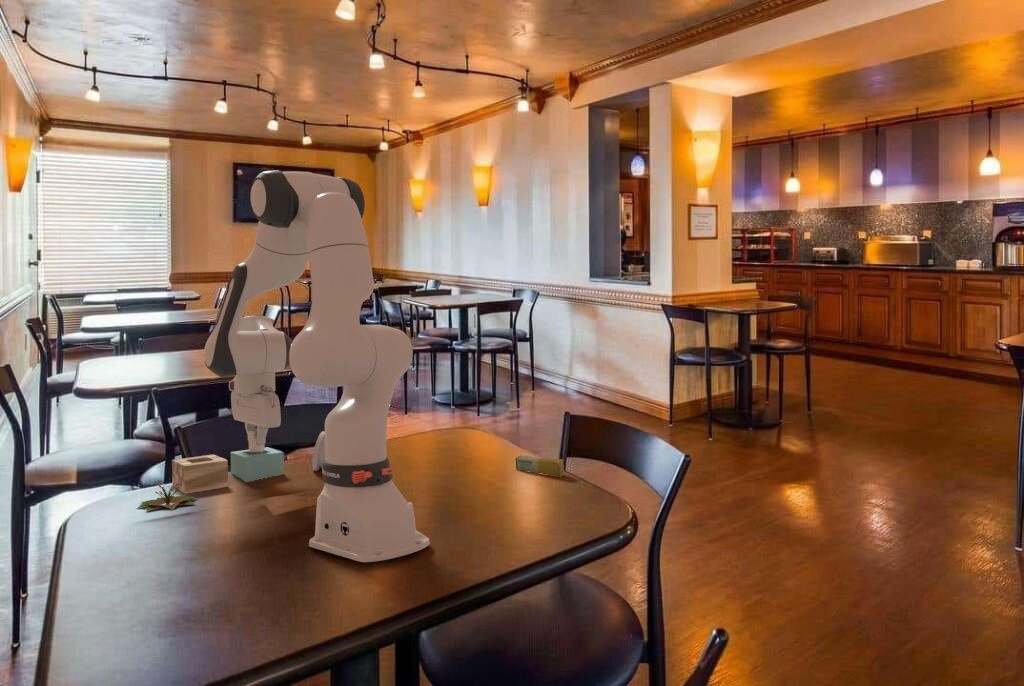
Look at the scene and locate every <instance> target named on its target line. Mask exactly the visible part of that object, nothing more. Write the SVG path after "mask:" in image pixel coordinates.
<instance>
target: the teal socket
mask: <svg viewBox="0 0 1024 686" xmlns="http://www.w3.org/2000/svg"><path fill="white" fill-rule="evenodd" d="M284 459H285V458H284V452H283V451H281V450H278V449H275V448H272V447H267V446H266V447H265V453H261V454H254V455H250V454H249V449H245V450H244V449H242V450H236V451H230V474H232V475H233V476H235V477H236V478H238V479H239V480H240V481H241V480H242V481H243V482H245V483H246V482H248V483H250V482H249V481H252V482H255V481H254V480H257V481H259V480H258V479H261V480H264V479H263V478H265V479H268V477H270V478H273V477H272V476H274V477H278V476H283V475H284V474H285V468H284V467H285V465H284Z"/></svg>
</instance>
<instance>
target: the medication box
mask: <svg viewBox="0 0 1024 686" xmlns="http://www.w3.org/2000/svg"><path fill="white" fill-rule="evenodd" d="M514 460H515V469H518V470H517V471H520V470H524V471H523V472H525V471H530V472H535V473H534V474H536V473H543V474H548V475H553V476H557V477H561V476H562V475H564V476H565V465H564V459H561V458H560V459H558V458H549V457H539V456H529V455H527V456H525V455H519V456H517V457H516V458H515V459H514ZM530 472H529V473H530ZM557 477H556V478H557ZM561 478H562V477H561Z"/></svg>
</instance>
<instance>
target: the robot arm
mask: <svg viewBox="0 0 1024 686" xmlns="http://www.w3.org/2000/svg"><path fill="white" fill-rule="evenodd" d="M251 184H252V185H251V188H250V193H249V194H250V197H249V198H250V207H251V210H252V213H253V215H254V216H255V218H256V219H257V220H258V224H257V228H256V229H257V230H256V234H255V240H254V245H253V248H252V249H251V251H250V253H249V254H248V256H247V257H246V258H245V260H244V261H243V262H241V263H239V264H237V265H236V266H234V269H233V270H232V272H231V275H230V277H229V279H228V283H227V284H226V287H225V291H224V292H223V296H222V300H221V302H220V306H219V309H218V312H217V314H216V317H215V321H214V324H213V326H212V329H211V331H210V333H209V335H208V337H207V339H206V342H205V345H204V349H203V359H204V364H205V367H206V368H207V369H208V370H209V371H210V372H211V373H213V374H215V375H216V376H218V377H219V378H227V377H234V378H233V379H231V380H230V381H229V382H228V390H229V391H231V393H230V404H231V413H232V416H233V417H232V418H233V419H234V421H238V422H242V423H244V427H245V428H244V429H245V431H246V433H247V441H248V442H249V433H248V431H250V430H258V433H257V437H256V443H257V444H259V445H262V444H266V441H267V440H266V438H267V434H268V432H269V429H270V428H271V429H272V428H279V427H280V425H281V423H282V417H281V405H280V399H279V396H278V395H277V394H276V392H275V391H276V373H278V372H281V371H284V370H286V369H287V368H288V367H289V366H290V368H291V371H292V373H293V375H294V376H295V377H296V379H297V380H298V381H299V382H300V383H302V384H304V385H308V386H313V387H320V388H327V389H328V388H335V387H337V388H338V387H344V389H343V392H342V395H341V398H340V399H339V401H338V403H337V405H335V407H333V408H332V410H331V411H329V413H328V414H327V416H326V418H325V419H324V420H325V421H324V431H325V461H324V462H323V468H321V471H322V472H321V474H322V481H323V482H324V485H323V488H322V491H321V492H320V494H319V495H318V497H317V498H316V499H317V500H316V511H315V513H316V514H315V530H314V536H313V537H311V538H310V539H309V540H308V547H310V548H313V549H316V550H318V551H319V550H320V551H324V552H326V553H329V554H333V555H335V556H341V557H343V558H346V559H349V560H353V561H356V562H361V563H371V562H372V563H373V562H379V561H387V560H391V559H395V558H398V557H403V556H407V555H411V554H412V553H415V552H418V551H421V550H423V549H425V548H426V547H428V546H429V545H430V544H431V543H430V539H429V537H427V536H426V535H425V534H423V533H421V532H419V531H418V530H417V527H416V525H417V524H416V518H415V508H414V504H413V502H409V501H407V499H406V498H405V497H404V496H403V494H402V493H401V491H400V490H399V488H398V487H397V486H396V485H395V483H394V481H393V480H392V479H393V478H394V477H393V474H395V472H394V471H392V470H394V469H395V467H393V466H392V464H391V463H390V460H389V457H388V456H387V428H388V427H387V424H388V416H389V409H390V404H391V402H392V398H393V395H394V392H395V390H396V388H397V385H398V383H399V381H400V380H401V378H402V376H404V375H405V373H406V372H407V371H408V370H409V368H410V367H411V364H412V362H413V356H414V354H413V353H414V352H413V351H414V350H413V346H412V341H411V340H410V338H409V336H408V335H407V334H406V333H405V332H404V331H403V330H402V329H398V328H395V327H392V326H388V325H383V324H361V322H360V321H361V320H360V314H361V308H362V305H363V302H365V301H366V300H368V298H369V297H371V295H372V293H373V292H374V289H375V280H374V275H373V269H372V268H373V267H372V261H371V254H370V248H369V242H368V237H367V234H366V229H365V225H364V222H363V217H364V214H365V209H366V201H365V195H364V192H363V190H362V189H361V187H360V185H359V184H358V183H357V182H356V181H354V180H352V179H349V178H346V177H342V176H337V177H335V176H332V175H327V174H326V175H325V174H321V173H320V174H319V173H313V172H310V171H281V170H279V169H277V170H267V171H262V172H260V173H258V175H257V176H256V177H255V178H254V180H253V181H252V183H251ZM307 265H309V272H310V279H311V280H310V281H311V289H312V290H311V291H312V293H311V294H312V299H311V307H310V311H309V314H308V318H307V321H306V323H305V324H304V327H303V328H302V330H301V331H299V333H298V334H297V335H295V337H294V339H291V338H290V337H289V335H287V333H285V332H284V331H283V330H282V331H281V330H278V329H277V328H276V327H274V325H273V321H272V319H271V318H270V317H269V316H267V315H262V314H261V315H259V314H253V315H246V316H245V315H244V313H245V309H246V307H247V305H248V303H250V302H251V300H253V299H255V298H256V297H258V296H260V295H262V294H264V293H267V292H269V291H273V290H277V289H280V288H284V287H286V286H289V285H291V284H293V283H294V282H296V281H298V279H300V277H302V276H303V274H304V273H305V270H306V268H307ZM243 315H244V316H243Z"/></svg>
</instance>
